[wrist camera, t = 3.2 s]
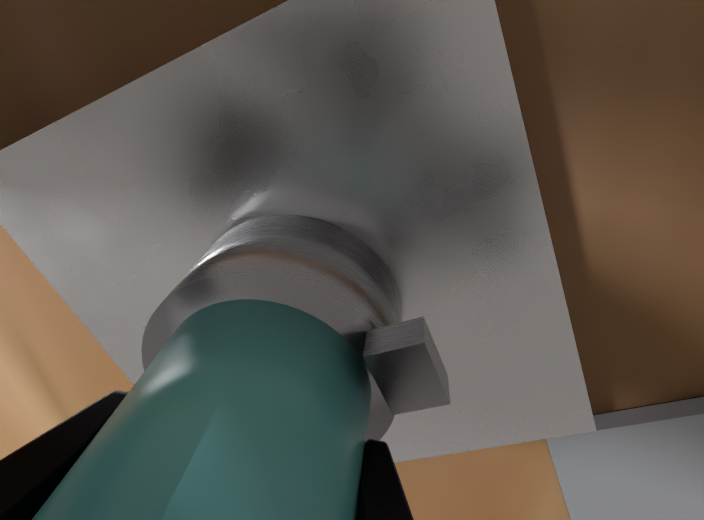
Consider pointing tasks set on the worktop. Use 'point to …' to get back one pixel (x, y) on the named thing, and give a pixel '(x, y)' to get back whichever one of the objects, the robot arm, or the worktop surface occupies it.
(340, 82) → the grey square plate
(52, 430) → the robot arm
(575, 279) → the worktop surface
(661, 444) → the coaster
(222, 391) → the teal cylinder
